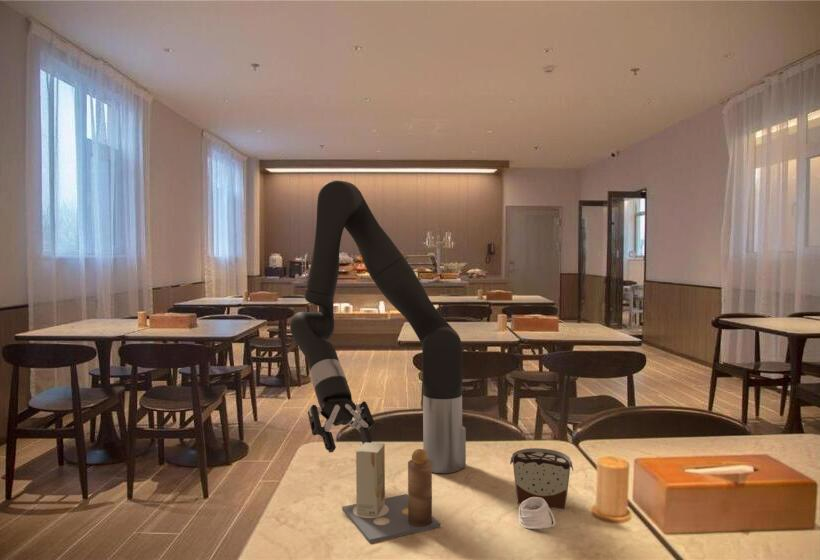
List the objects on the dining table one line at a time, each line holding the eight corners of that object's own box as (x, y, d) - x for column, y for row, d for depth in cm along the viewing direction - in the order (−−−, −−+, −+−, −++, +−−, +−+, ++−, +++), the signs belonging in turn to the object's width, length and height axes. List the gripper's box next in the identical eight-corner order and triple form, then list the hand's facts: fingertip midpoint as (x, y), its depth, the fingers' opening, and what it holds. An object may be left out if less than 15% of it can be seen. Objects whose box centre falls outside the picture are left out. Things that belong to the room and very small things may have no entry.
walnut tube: (425, 514, 110) (425, 444, 110) (436, 523, 106) (435, 451, 106) (404, 518, 108) (404, 447, 108) (414, 528, 104) (414, 454, 104)
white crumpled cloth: (561, 537, 104) (564, 511, 104) (526, 536, 103) (529, 510, 103) (544, 514, 112) (547, 490, 112) (511, 514, 111) (514, 489, 111)
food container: (575, 499, 118) (575, 450, 118) (573, 511, 112) (573, 460, 112) (514, 491, 122) (514, 444, 122) (509, 503, 116) (509, 454, 116)
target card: (406, 496, 120) (406, 493, 120) (440, 526, 106) (440, 523, 106) (342, 509, 114) (342, 506, 114) (369, 543, 100) (369, 539, 100)
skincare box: (377, 517, 109) (377, 453, 108) (355, 515, 109) (355, 451, 109) (385, 503, 115) (385, 442, 114) (364, 501, 116) (364, 441, 115)
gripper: (307, 375, 125) (327, 443, 116) (364, 373, 134) (386, 436, 124) (295, 394, 130) (313, 461, 121) (350, 391, 138) (371, 453, 129)
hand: (350, 448), depth 123 cm, fingers open, 8 cm apart
